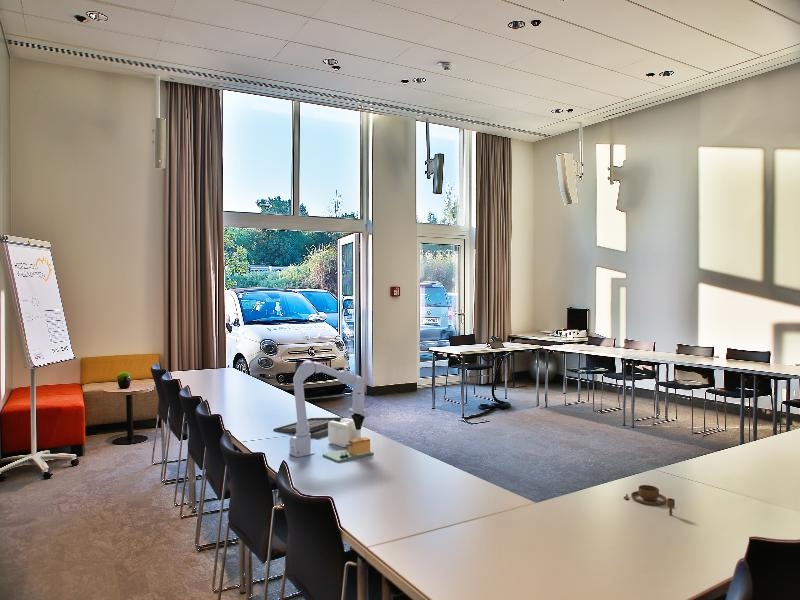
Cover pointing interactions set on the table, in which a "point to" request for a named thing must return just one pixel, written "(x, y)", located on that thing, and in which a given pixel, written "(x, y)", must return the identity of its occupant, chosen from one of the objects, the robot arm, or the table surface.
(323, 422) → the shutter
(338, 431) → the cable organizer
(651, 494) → the place setting
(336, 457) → the board
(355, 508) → the table surface
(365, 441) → the block
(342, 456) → the twin bulb fixture
